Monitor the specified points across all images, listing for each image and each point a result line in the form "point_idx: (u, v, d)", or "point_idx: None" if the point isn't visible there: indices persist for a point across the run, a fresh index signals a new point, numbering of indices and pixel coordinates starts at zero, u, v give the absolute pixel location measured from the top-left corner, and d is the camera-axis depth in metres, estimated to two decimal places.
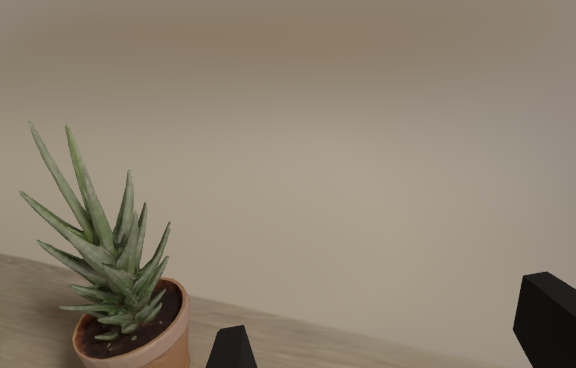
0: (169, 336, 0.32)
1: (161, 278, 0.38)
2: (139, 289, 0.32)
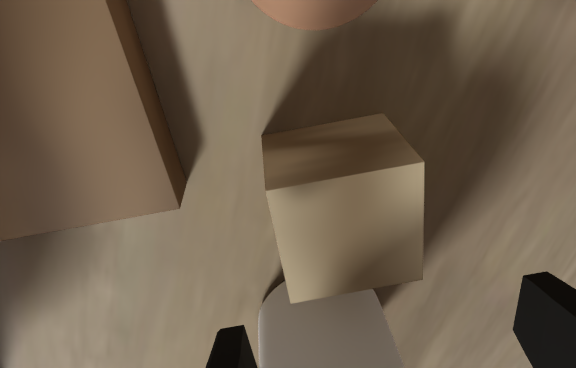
0: None
1: None
2: None
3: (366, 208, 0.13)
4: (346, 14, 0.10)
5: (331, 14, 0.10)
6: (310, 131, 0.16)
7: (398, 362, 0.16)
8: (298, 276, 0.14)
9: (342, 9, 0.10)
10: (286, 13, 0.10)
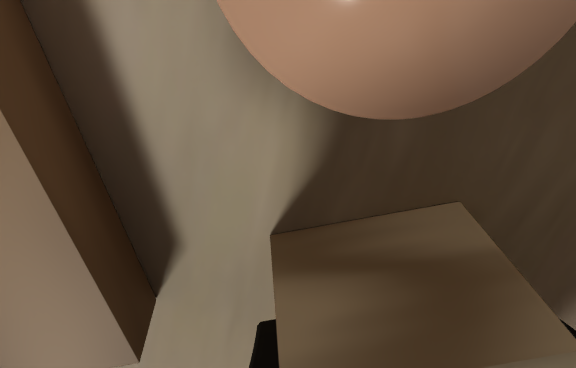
0: None
1: None
2: None
3: None
4: (468, 86, 0.05)
5: (435, 86, 0.05)
6: (348, 236, 0.10)
7: None
8: None
9: (461, 76, 0.05)
10: (335, 86, 0.05)
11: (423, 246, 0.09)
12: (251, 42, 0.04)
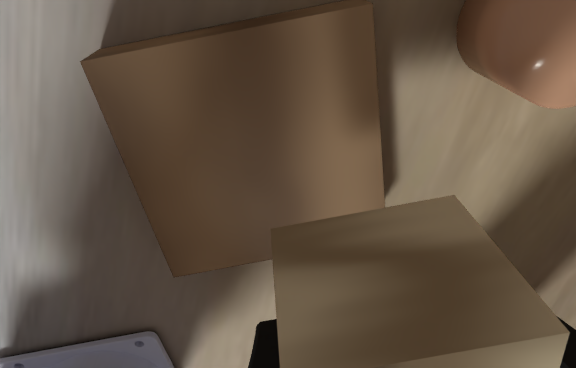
0: None
1: None
2: None
3: None
4: None
5: (574, 96, 0.14)
6: (346, 229, 0.10)
7: None
8: None
9: None
10: (541, 96, 0.13)
11: (418, 237, 0.10)
12: (517, 83, 0.13)
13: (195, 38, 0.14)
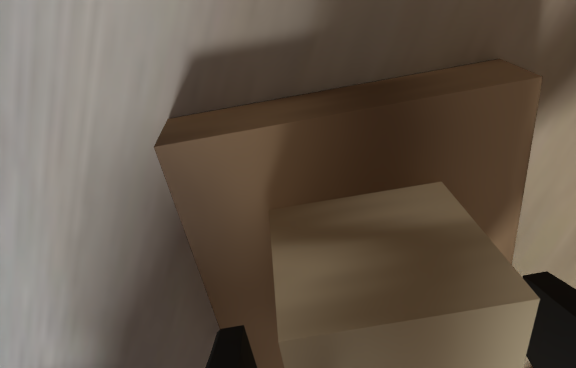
0: None
1: None
2: None
3: (436, 360, 0.08)
4: None
5: None
6: (340, 210, 0.11)
7: None
8: None
9: None
10: None
11: (406, 218, 0.10)
12: None
13: (306, 118, 0.10)
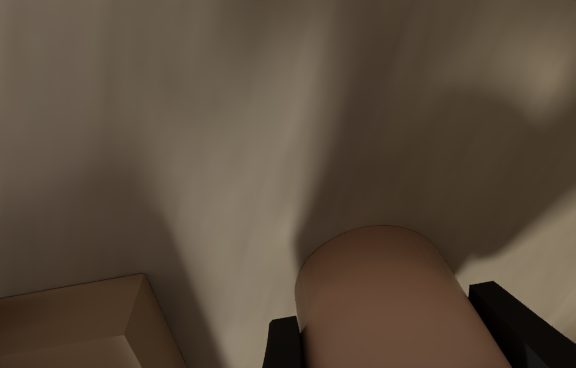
0: None
1: None
2: None
3: None
4: None
5: None
6: None
7: None
8: None
9: None
10: None
11: None
12: None
13: None
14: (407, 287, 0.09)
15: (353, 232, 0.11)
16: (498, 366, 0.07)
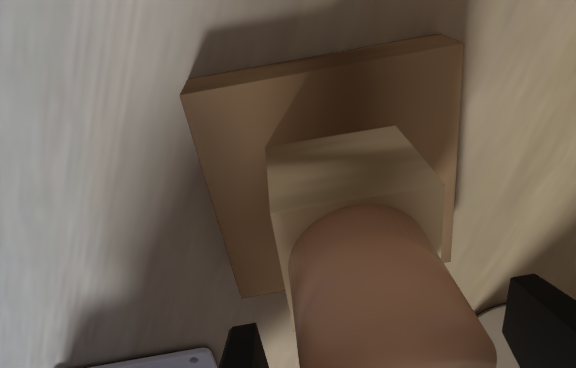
0: None
1: None
2: None
3: None
4: None
5: None
6: (318, 145, 0.15)
7: None
8: None
9: None
10: None
11: (366, 147, 0.14)
12: None
13: (291, 74, 0.14)
14: (389, 255, 0.09)
15: (343, 209, 0.11)
16: (469, 322, 0.08)
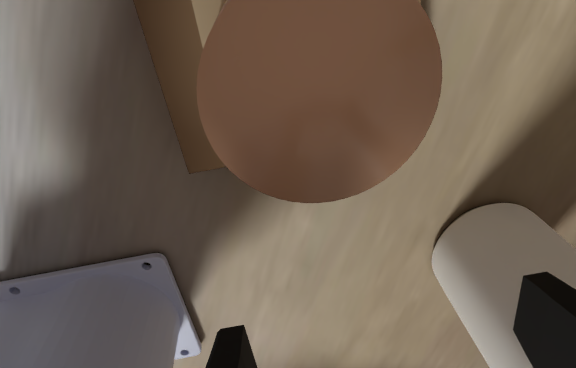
0: None
1: None
2: None
3: None
4: (357, 185, 0.08)
5: (337, 185, 0.08)
6: None
7: None
8: None
9: (352, 180, 0.08)
10: (279, 186, 0.08)
11: None
12: (231, 165, 0.08)
13: None
14: None
15: None
16: None
